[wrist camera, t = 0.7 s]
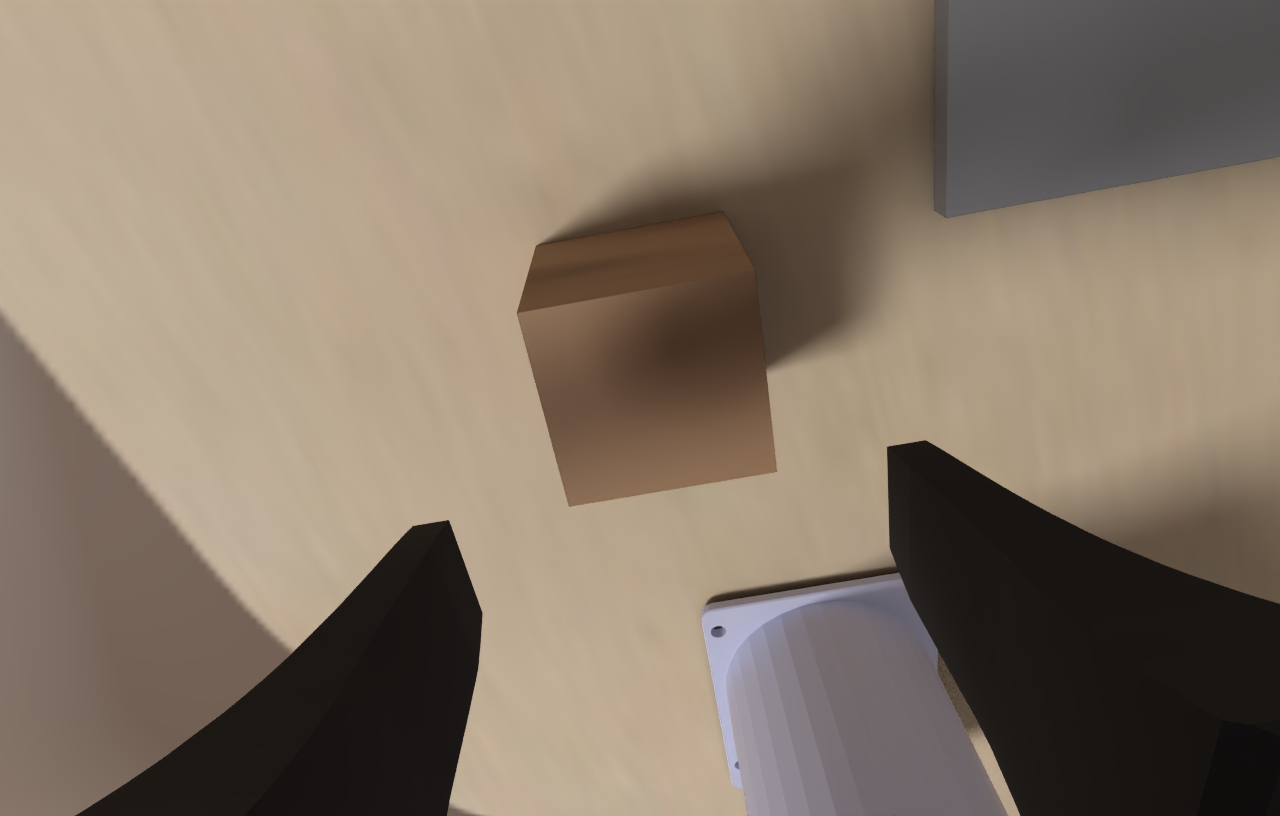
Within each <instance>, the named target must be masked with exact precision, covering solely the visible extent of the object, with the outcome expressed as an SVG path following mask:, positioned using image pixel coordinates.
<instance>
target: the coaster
mask: <svg viewBox="0 0 1280 816" xmlns="http://www.w3.org/2000/svg"><path fill="white" fill-rule="evenodd" d="M1275 157H1280V0H935V147H934V211H936V212H937V213H939V214H941V215H942V216H944V217H945V218H949V217H954V216H960V215H965V214H971V213H976V212H981V211H987V210H992V209H998V208H1003V207H1009V206H1014V205H1020V204H1025V203H1030V202H1036V201H1041V200H1047V199H1052V198H1058V197H1063V196H1069V195H1074V194H1079V193H1085V192H1090V191H1096V190H1101V189H1107V188H1112V187H1118V186H1123V185H1128V184H1134V183H1139V182H1145V181H1150V180H1156V179H1161V178H1167V177H1172V176H1177V175H1183V174H1188V173H1194V172H1199V171H1205V170H1210V169H1216V168H1221V167H1226V166H1232V165H1237V164H1243V163H1248V162H1254V161H1259V160H1265V159H1270V158H1275Z"/></svg>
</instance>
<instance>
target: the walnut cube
mask: <svg viewBox="0 0 1280 816" xmlns="http://www.w3.org/2000/svg"><path fill="white" fill-rule="evenodd" d="M517 316H518V320H519V323H520V327H521V331H522V334H523V338H524V342H525V345H526V349H527V353H528V357H529V360H530V364H531V368H532V371H533V375H534V379H535V383H536V386H537V390H538V394H539V397H540V401H541V405H542V409H543V412H544V416H545V420H546V423H547V427H548V431H549V435H550V438H551V442H552V446H553V449H554V453H555V457H556V460H557V464H558V468H559V472H560V475H561V479H562V483H563V486H564V490H565V494H566V498H567V501H568V505H569V507H570V506H576V505H582V504H588V503H594V502H600V501H606V500H612V499H618V498H624V497H630V496H636V495H642V494H648V493H654V492H660V491H666V490H671V489H677V488H683V487H689V486H695V485H701V484H707V483H713V482H719V481H725V480H731V479H737V478H743V477H749V476H755V475H761V474H767V473H773V472H777V468H776V458H775V449H774V440H773V430H772V421H771V412H770V403H769V393H768V384H767V375H766V366H765V356H764V347H763V338H762V329H761V319H760V310H759V301H758V291H757V282H756V273H755V269H754V267H753V265H752V263H751V261H750V260H749V258H748V256H747V254H746V252H745V251H744V249H743V247H742V245H741V243H740V241H739V240H738V238H737V236H736V234H735V232H734V230H733V229H732V227H731V225H730V223H729V221H728V219H727V218H726V216H725V214H724V212H723V211H721V212H716V213H710V214H705V215H700V216H694V217H689V218H683V219H678V220H673V221H667V222H662V223H656V224H651V225H646V226H640V227H635V228H629V229H624V230H619V231H613V232H608V233H602V234H597V235H592V236H586V237H581V238H575V239H570V240H565V241H559V242H554V243H549V244H543V245H538V246H536V248H535V251H534V255H533V258H532V262H531V265H530V269H529V272H528V276H527V279H526V283H525V286H524V290H523V293H522V297H521V300H520V304H519V307H518V311H517Z"/></svg>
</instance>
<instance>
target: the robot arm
mask: <svg viewBox="0 0 1280 816" xmlns="http://www.w3.org/2000/svg"><path fill="white" fill-rule="evenodd" d="M887 460H888V499H889V538H890V550H891V552H892V555H893V557H894V560H895V563H896V565H897V568H898V570H899V573H894V574H888V575H882V576H876V577H869V578H863V579H857V580H851V581H845V582H839V583H832V584H826V585H820V586H814V587H808V588H801V589H795V590H789V591H783V592H777V593H771V594H764V595H758V596H752V597H746V598H740V599H733V600H727V601H721V602H715V603H711V604H708V605H706V606H705V607H704V608H703V609H702V611H701V621H702V627H703V632H704V638H705V643H706V648H707V654H708V659H709V664H710V670H711V675H712V681H713V686H714V691H715V697H716V702H717V707H718V713H719V718H720V723H721V729H722V734H723V740H724V745H725V750H726V756H727V761H728V766H729V772H730V777H731V782H732V784H733V786H735V787H736V788H739V789H743V793H744V799H745V805H746V811H747V816H1008V814H1007V812H1006V810H1005V808H1004V806H1003V804H1002V802H1001V800H1000V798H999V796H998V794H997V792H996V790H995V788H994V786H993V784H992V782H991V780H990V778H989V776H988V774H987V772H986V770H985V768H984V766H983V764H982V762H981V760H980V758H979V756H978V754H977V752H976V750H975V748H974V745H973V743H972V741H971V739H970V737H969V735H968V733H967V731H966V729H965V727H964V725H963V723H962V721H961V719H960V717H959V715H958V713H957V711H956V709H955V707H954V705H953V703H952V701H951V699H950V697H949V695H948V693H947V691H946V689H945V687H944V685H943V683H942V681H941V679H940V677H939V675H938V651H939V653H940V655H941V657H942V658H943V660H944V662H945V664H946V665H947V667H948V669H949V671H950V673H951V674H952V676H953V678H954V680H955V681H956V683H957V685H958V687H959V689H960V690H961V692H962V694H963V696H964V698H965V699H966V701H967V703H968V705H969V706H970V708H971V710H972V712H973V714H974V715H975V717H976V719H977V721H978V723H979V725H980V727H981V729H982V731H983V733H984V735H985V737H986V739H987V741H988V743H989V745H990V746H991V749H992V751H993V753H994V756H995V758H996V760H997V762H998V765H999V767H1000V769H1001V772H1002V774H1003V776H1004V779H1005V781H1006V783H1007V785H1008V788H1009V790H1010V792H1011V795H1012V797H1013V799H1014V802H1015V804H1016V806H1017V808H1018V811H1019V813H1020V816H1280V604H1278V603H1274V602H1271V601H1268V600H1264V599H1261V598H1258V597H1254V596H1251V595H1248V594H1245V593H1242V592H1239V591H1236V590H1233V589H1230V588H1227V587H1224V586H1221V585H1218V584H1215V583H1212V582H1209V581H1206V580H1203V579H1201V578H1198V577H1195V576H1192V575H1189V574H1186V573H1184V572H1181V571H1178V570H1176V569H1173V568H1170V567H1168V566H1165V565H1162V564H1160V563H1157V562H1155V561H1153V560H1150V559H1148V558H1145V557H1143V556H1141V555H1138V554H1136V553H1134V552H1131V551H1129V550H1126V549H1124V548H1122V547H1119V546H1117V545H1114V544H1112V543H1110V542H1108V541H1106V540H1103V539H1101V538H1099V537H1097V536H1095V535H1093V534H1091V533H1088V532H1086V531H1084V530H1082V529H1080V528H1079V527H1077V526H1075V525H1073V524H1071V523H1069V522H1067V521H1065V520H1063V519H1061V518H1059V517H1057V516H1055V515H1053V514H1051V513H1049V512H1047V511H1045V510H1043V509H1042V508H1040V507H1038V506H1036V505H1034V504H1032V503H1030V502H1029V501H1027V500H1025V499H1023V498H1022V497H1020V496H1018V495H1016V494H1015V493H1013V492H1011V491H1009V490H1008V489H1006V488H1004V487H1002V486H1001V485H999V484H997V483H996V482H994V481H992V480H991V479H989V478H987V477H986V476H984V475H982V474H981V473H979V472H977V471H976V470H974V469H973V468H971V467H969V466H968V465H966V464H964V463H963V462H961V461H959V460H958V459H956V458H955V457H953V456H951V455H950V454H948V453H946V452H945V451H943V450H941V449H940V448H938V447H936V446H935V445H933V444H931V443H929V442H928V441H926V440H925V441H919V442H913V443H907V444H901V445H895V446H889V447H887ZM716 626H722V628H720V629H713V627H716ZM481 628H482V611H481V608H480V605H479V602H478V599H477V597H476V594H475V591H474V588H473V586H472V583H471V580H470V577H469V574H468V572H467V569H466V566H465V563H464V561H463V558H462V555H461V552H460V550H459V547H458V544H457V541H456V538H455V536H454V533H453V530H452V527H451V525H450V522H449V520H447V521H441V522H435V523H429V524H423V525H417V526H413V527H412V528H411V529H410V530H409V531H408V532H407V533H406V534H405V535H404V536H403V537H402V538H401V539H400V540H399V541H398V542H397V543H396V544H395V545H394V546H393V547H392V549H391V550H390V551H389V552H388V553H387V554H386V555H385V556H384V557H383V558H382V560H381V561H380V562H379V563H378V564H377V565H376V566H375V567H374V569H373V570H372V571H371V572H370V573H369V574H368V575H367V576H366V577H365V578H364V580H363V581H362V582H361V583H360V584H359V585H358V586H357V587H356V588H355V589H354V590H353V591H352V593H351V594H350V595H349V596H348V597H347V598H346V599H345V600H344V601H343V602H342V603H341V605H340V606H339V607H338V608H337V609H336V610H335V611H334V612H333V613H332V614H331V615H330V616H329V617H328V618H327V619H326V620H325V621H324V622H323V623H322V624H321V625H320V626H319V627H318V628H317V629H316V630H315V631H314V632H313V633H312V634H311V635H310V636H309V637H308V638H307V639H306V640H305V641H304V642H303V643H302V644H301V645H300V646H299V647H298V648H297V649H296V650H295V651H294V652H293V653H292V654H291V655H290V656H289V657H288V658H287V659H286V660H284V662H282V663H281V664H280V665H279V666H278V667H277V668H276V669H275V670H274V671H272V672H271V673H270V674H269V675H268V676H267V677H266V678H265V679H264V680H263V681H261V682H260V683H259V684H258V685H256V686H255V687H254V688H253V689H252V690H251V691H249V692H248V693H247V694H246V695H245V696H243V697H242V698H241V699H240V700H239V701H238V702H236V703H235V704H234V705H233V706H232V707H230V708H229V709H228V710H227V711H225V712H224V713H223V714H221V715H220V716H219V717H218V718H216V719H215V720H213V721H212V722H211V723H210V724H208V725H207V726H205V727H204V728H203V729H201V730H200V731H199V732H197V733H196V734H195V735H193V736H192V737H191V738H189V739H188V740H187V741H185V742H184V743H183V744H181V745H180V746H179V747H177V748H176V749H175V750H173V751H172V752H171V753H170V754H168V755H167V756H166V757H164V758H163V759H161V760H160V761H158V762H157V763H155V764H154V765H153V766H151V767H150V768H148V769H147V770H145V771H144V772H142V773H141V774H139V775H138V776H136V777H135V778H133V779H132V780H130V781H129V782H128V783H126V784H125V785H123V786H121V787H120V788H118V789H117V790H115V791H114V792H112V793H111V794H109V795H107V796H106V797H104V798H103V799H101V800H100V801H98V802H97V803H95V804H93V805H92V806H90V807H89V808H87V809H86V810H84V811H82V812H81V813H79V814H77V815H76V816H447V811H448V806H449V800H450V795H451V791H452V786H453V782H454V777H455V773H456V768H457V764H458V759H459V755H460V750H461V746H462V741H463V737H464V732H465V728H466V724H467V719H468V715H469V710H470V705H471V701H472V696H473V691H474V687H475V682H476V677H477V672H478V664H479V654H480V643H481Z"/></svg>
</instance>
